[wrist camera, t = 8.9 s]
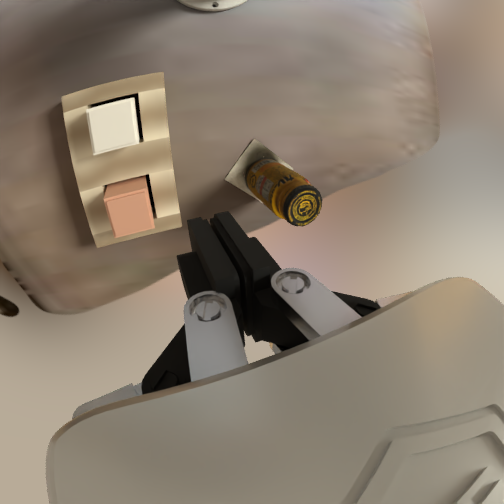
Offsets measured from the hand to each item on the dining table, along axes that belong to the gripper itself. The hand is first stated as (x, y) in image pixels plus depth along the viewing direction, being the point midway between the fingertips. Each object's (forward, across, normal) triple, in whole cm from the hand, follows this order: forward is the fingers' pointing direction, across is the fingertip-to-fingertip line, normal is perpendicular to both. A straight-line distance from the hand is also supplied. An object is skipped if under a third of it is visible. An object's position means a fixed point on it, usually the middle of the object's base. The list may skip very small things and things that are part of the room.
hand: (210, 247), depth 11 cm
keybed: (+27, +5, +1) cm, 28 cm away
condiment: (+27, -14, +7) cm, 32 cm away
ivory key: (+26, +5, -4) cm, 26 cm away
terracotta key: (+26, +5, +6) cm, 27 cm away
